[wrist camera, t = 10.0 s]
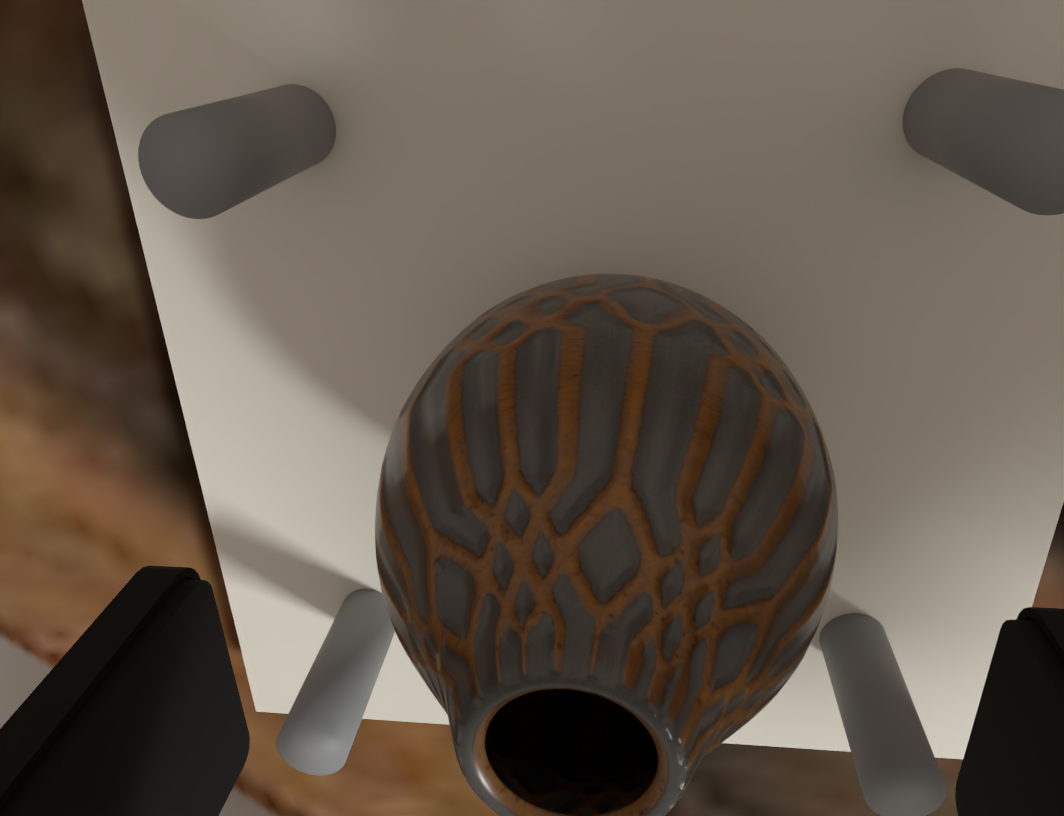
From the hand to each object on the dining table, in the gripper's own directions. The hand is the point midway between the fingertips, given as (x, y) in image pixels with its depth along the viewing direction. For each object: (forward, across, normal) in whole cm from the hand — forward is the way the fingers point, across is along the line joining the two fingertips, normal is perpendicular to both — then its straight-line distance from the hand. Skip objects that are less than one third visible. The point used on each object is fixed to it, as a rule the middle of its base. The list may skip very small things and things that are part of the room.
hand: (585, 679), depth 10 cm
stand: (+9, 0, 0) cm, 9 cm away
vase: (+7, 0, 0) cm, 7 cm away
